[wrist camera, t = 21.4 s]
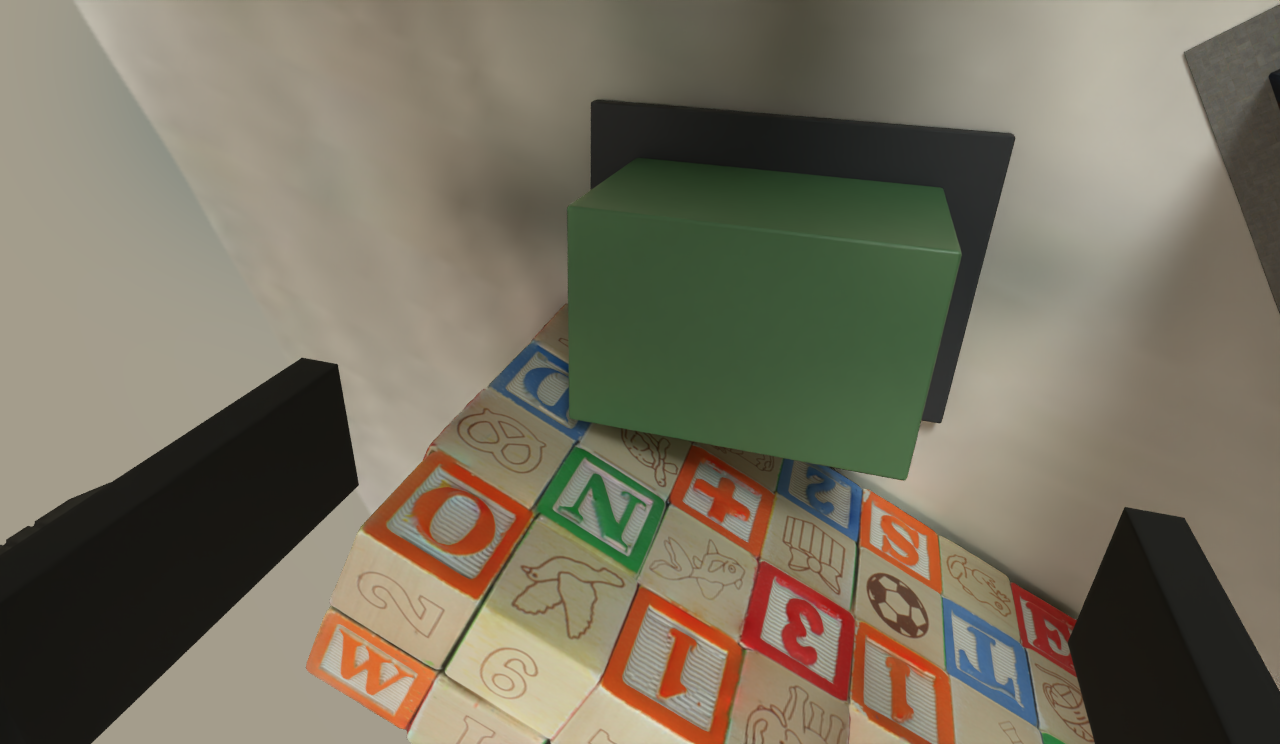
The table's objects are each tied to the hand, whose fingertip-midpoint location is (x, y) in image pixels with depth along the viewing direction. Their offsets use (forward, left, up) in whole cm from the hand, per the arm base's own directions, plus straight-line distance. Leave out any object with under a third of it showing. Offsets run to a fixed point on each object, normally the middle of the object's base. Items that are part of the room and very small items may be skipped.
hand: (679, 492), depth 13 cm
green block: (0, 0, -13) cm, 13 cm away
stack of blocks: (+10, +1, -13) cm, 16 cm away
